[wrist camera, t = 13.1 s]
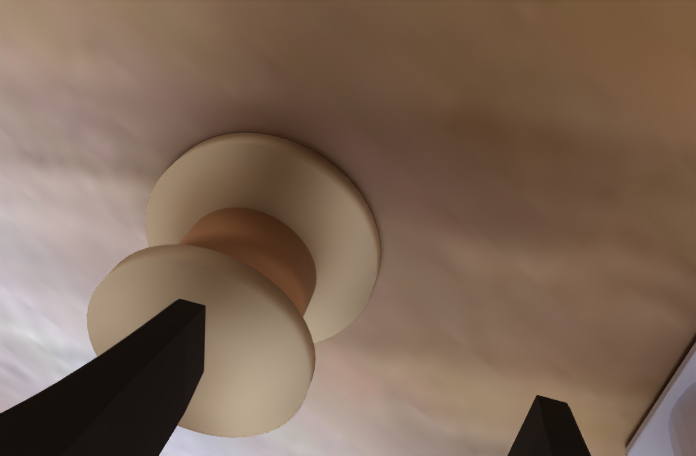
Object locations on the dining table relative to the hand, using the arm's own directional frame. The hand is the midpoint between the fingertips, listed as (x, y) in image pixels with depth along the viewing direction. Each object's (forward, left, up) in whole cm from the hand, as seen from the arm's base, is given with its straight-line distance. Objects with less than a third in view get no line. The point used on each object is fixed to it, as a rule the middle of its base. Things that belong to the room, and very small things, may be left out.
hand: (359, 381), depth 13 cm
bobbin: (+5, +4, -9) cm, 11 cm away
